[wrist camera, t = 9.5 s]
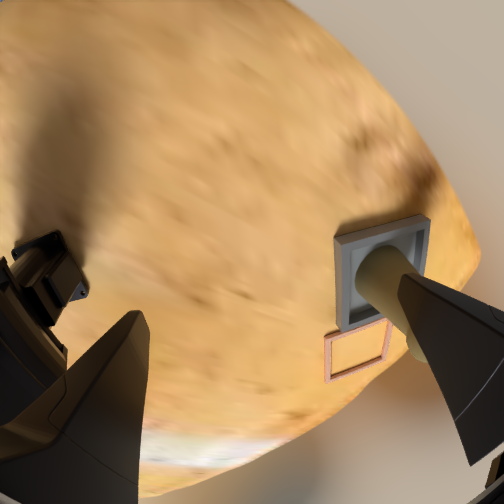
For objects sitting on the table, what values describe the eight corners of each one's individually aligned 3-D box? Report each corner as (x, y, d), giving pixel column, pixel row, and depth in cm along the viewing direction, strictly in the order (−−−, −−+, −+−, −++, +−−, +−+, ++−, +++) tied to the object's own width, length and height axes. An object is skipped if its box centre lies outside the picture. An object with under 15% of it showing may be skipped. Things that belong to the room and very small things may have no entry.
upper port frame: (324, 381, 33) (325, 383, 32) (324, 336, 28) (325, 339, 28) (383, 357, 33) (385, 360, 33) (393, 310, 29) (395, 313, 28)
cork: (347, 265, 24) (417, 348, 14) (398, 234, 24) (479, 298, 14) (361, 307, 27) (417, 384, 17) (406, 278, 26) (470, 343, 17)
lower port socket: (335, 323, 28) (341, 332, 26) (333, 237, 23) (341, 245, 22) (411, 294, 28) (418, 301, 27) (421, 214, 23) (430, 219, 22)
